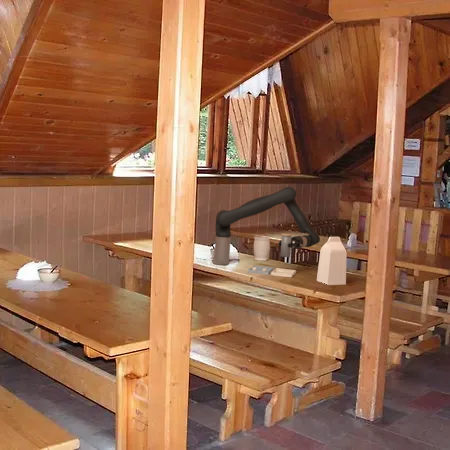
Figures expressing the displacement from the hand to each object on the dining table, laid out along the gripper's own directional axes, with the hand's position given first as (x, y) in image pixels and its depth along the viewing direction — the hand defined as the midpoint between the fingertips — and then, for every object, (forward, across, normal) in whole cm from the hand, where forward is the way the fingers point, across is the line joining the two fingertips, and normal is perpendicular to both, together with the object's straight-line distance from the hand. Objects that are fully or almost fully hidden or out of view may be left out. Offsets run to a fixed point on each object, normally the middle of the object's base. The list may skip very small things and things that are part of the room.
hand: (283, 244), depth 387 cm
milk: (-5, +29, +18) cm, 35 cm away
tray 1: (+3, -13, +18) cm, 22 cm away
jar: (-34, -36, +18) cm, 53 cm away
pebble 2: (+6, -8, +17) cm, 20 cm away
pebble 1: (+8, -14, +17) cm, 24 cm away
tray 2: (-2, 0, +18) cm, 18 cm away
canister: (-3, 0, +7) cm, 7 cm away
